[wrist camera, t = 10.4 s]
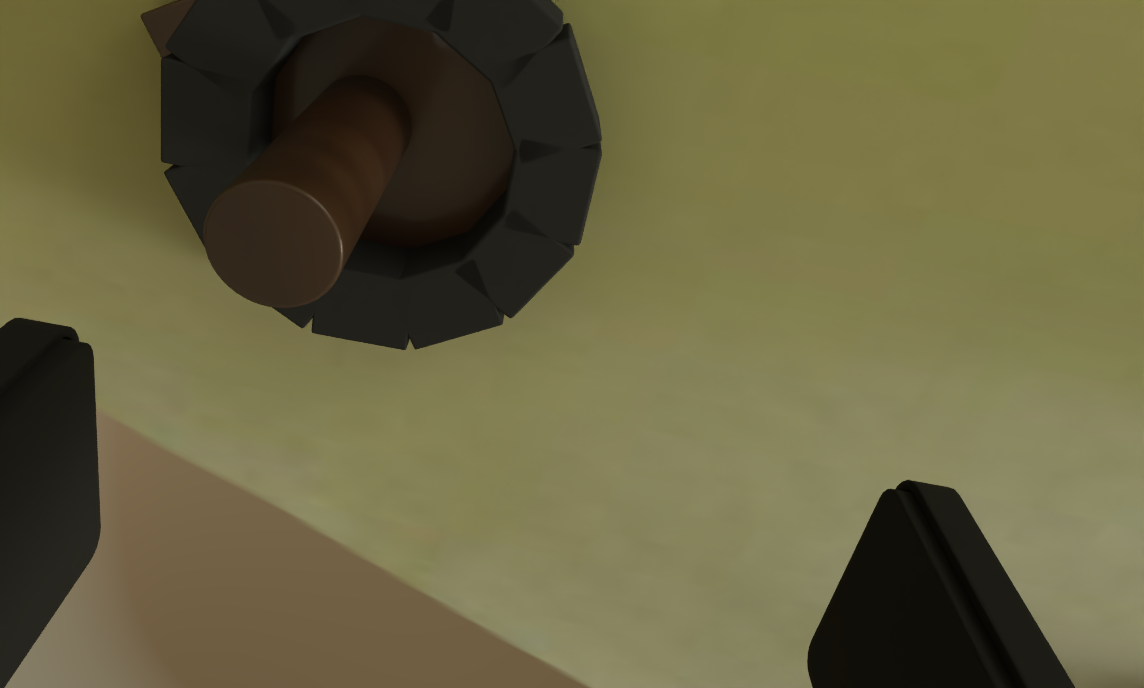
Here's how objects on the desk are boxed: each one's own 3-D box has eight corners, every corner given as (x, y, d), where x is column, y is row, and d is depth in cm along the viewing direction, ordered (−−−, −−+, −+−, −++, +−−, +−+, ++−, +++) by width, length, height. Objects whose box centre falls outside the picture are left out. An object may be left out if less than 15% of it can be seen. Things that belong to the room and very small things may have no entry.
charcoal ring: (517, -152, 20) (512, -152, 18) (640, 252, 24) (646, 283, 23) (113, -4, 21) (72, 9, 19) (301, 352, 26) (282, 388, 24)
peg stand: (459, -103, 21) (396, -74, 13) (565, 208, 25) (565, 375, 17) (154, 8, 22) (-73, 96, 14) (299, 289, 26) (182, 482, 18)
